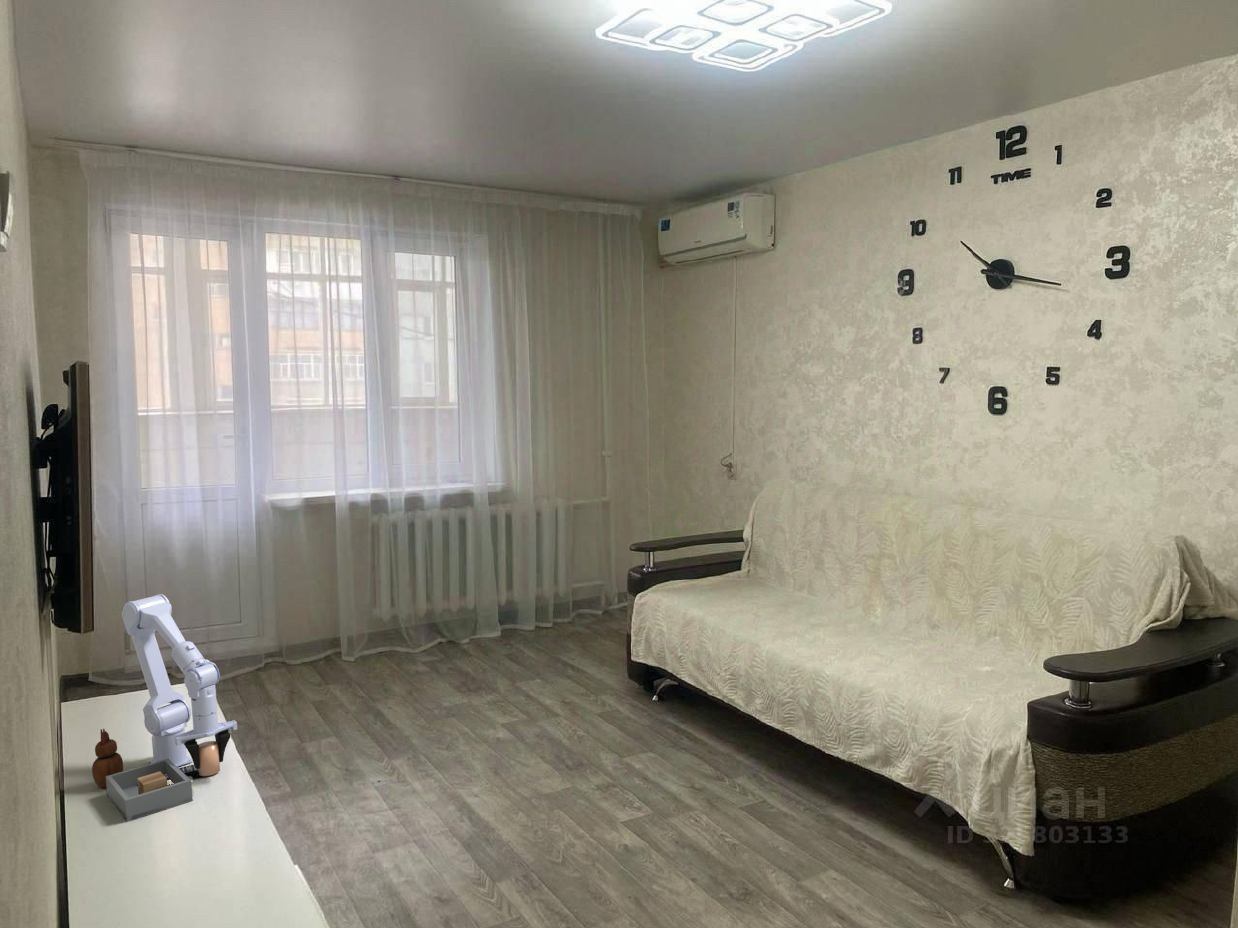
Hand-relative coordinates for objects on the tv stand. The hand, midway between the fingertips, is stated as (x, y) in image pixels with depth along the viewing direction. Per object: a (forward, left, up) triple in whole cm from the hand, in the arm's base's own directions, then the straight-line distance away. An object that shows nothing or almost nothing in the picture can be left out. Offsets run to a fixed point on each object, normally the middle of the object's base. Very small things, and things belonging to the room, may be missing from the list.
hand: (208, 764), depth 226 cm
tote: (+4, -15, -2) cm, 16 cm away
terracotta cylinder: (0, 0, -2) cm, 2 cm away
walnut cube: (+7, -15, -1) cm, 16 cm away
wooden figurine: (-12, -20, -3) cm, 23 cm away
